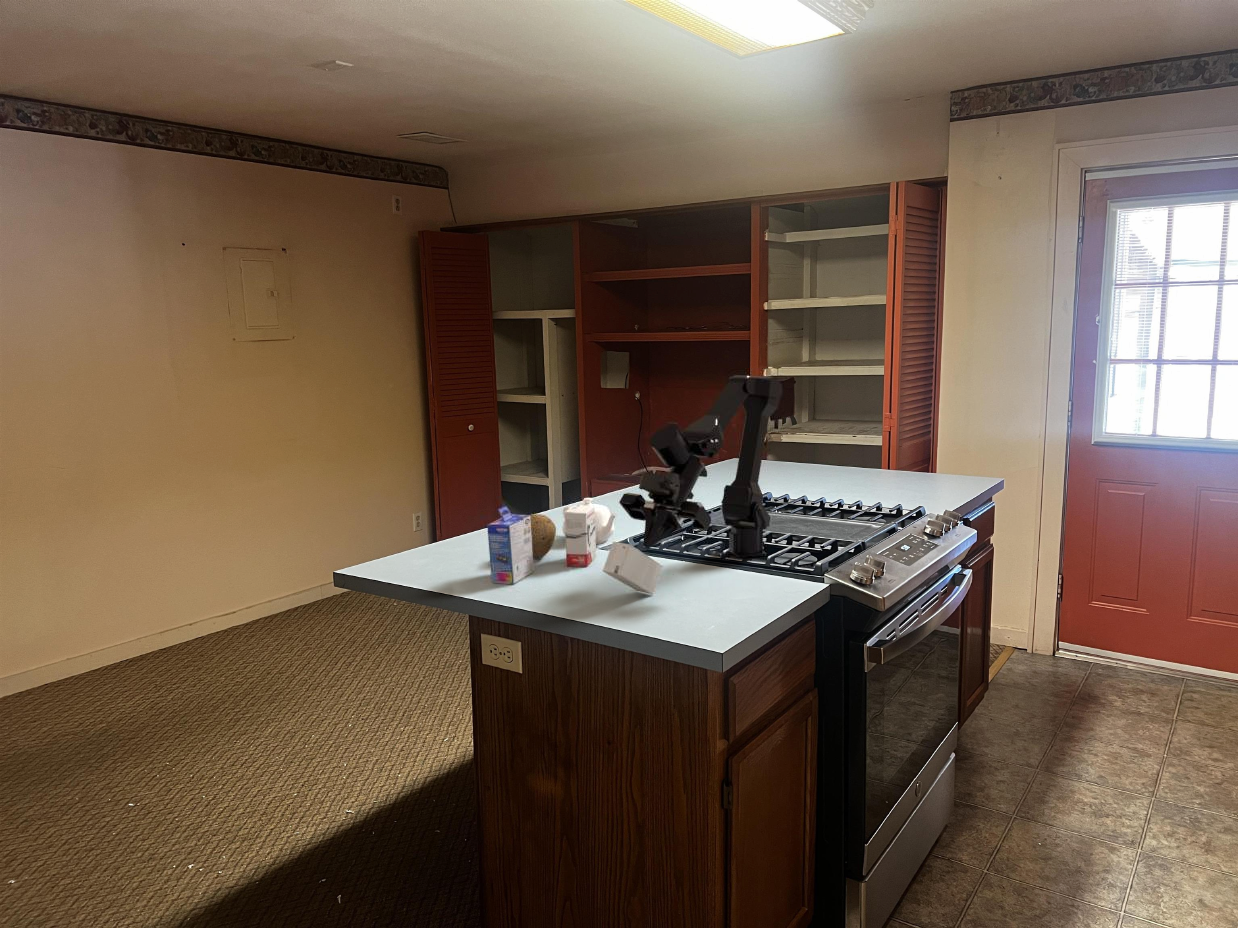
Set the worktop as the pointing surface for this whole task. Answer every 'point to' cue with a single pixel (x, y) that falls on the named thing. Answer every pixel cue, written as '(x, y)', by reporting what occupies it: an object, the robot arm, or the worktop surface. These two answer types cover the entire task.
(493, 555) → the ink cartridge box
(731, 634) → the worktop surface
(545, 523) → the natural sponge
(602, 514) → the teapot
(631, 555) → the skincare box
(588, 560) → the ink box
